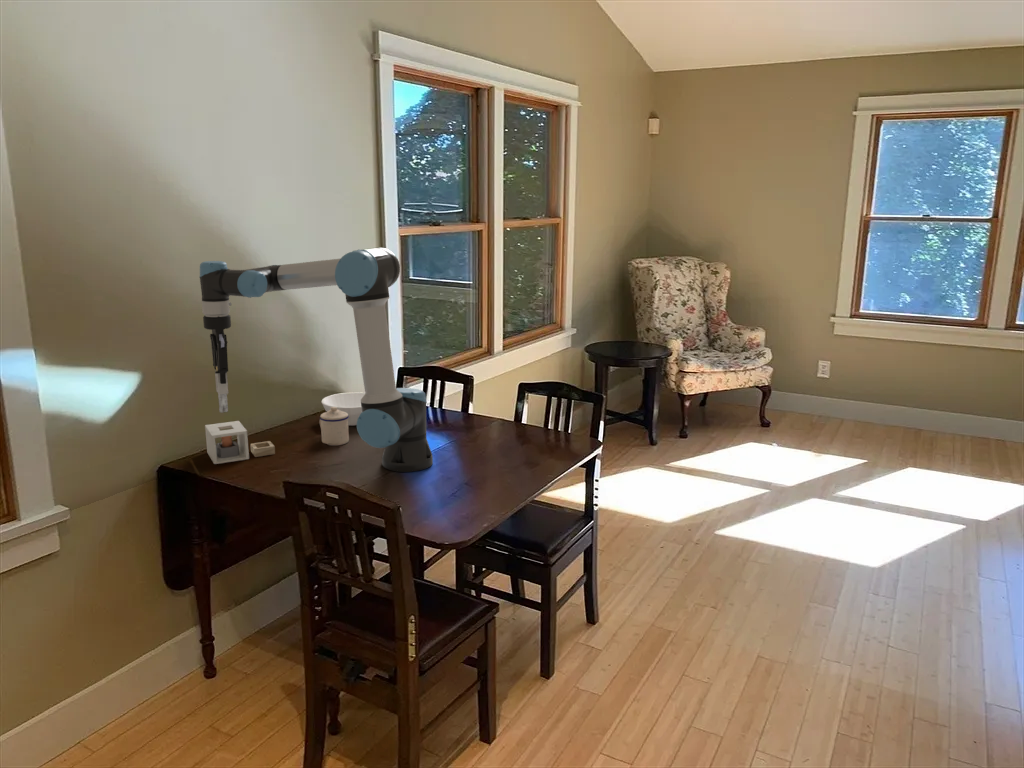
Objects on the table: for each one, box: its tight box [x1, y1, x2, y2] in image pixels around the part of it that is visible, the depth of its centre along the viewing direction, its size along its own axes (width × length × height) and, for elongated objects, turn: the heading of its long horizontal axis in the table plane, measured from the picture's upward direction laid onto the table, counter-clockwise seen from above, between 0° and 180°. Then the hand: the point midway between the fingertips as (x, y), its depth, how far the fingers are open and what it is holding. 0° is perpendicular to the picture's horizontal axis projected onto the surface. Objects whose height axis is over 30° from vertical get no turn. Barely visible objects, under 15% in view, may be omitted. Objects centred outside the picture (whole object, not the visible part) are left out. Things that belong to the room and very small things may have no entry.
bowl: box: [321, 391, 365, 426], centre depth 278 cm, size 21×21×8 cm
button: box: [220, 435, 233, 447], centre depth 239 cm, size 3×3×4 cm
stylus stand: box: [250, 440, 276, 458], centre depth 244 cm, size 6×6×3 cm
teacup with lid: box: [319, 407, 350, 447], centre depth 256 cm, size 12×9×12 cm
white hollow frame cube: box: [204, 420, 250, 465], centre depth 240 cm, size 12×10×9 cm
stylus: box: [216, 366, 229, 413], centre depth 236 cm, size 2×2×14 cm
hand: (222, 392), depth 236 cm, fingers closed on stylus, 2 cm apart
